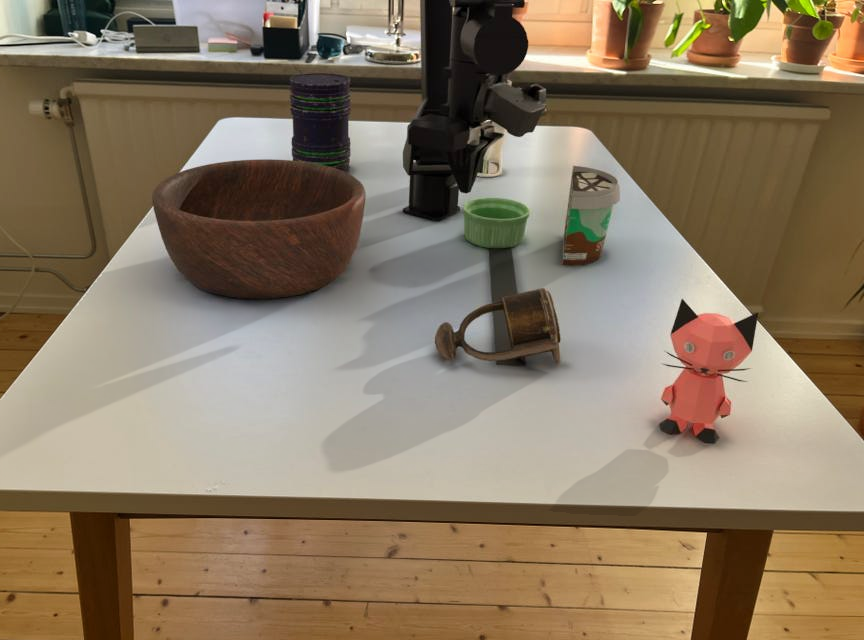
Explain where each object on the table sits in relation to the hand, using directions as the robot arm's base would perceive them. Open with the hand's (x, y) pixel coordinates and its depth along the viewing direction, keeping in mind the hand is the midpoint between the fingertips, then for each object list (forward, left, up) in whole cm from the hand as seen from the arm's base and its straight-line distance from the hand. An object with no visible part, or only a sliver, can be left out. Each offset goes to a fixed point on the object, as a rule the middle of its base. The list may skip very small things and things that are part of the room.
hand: (465, 192), depth 101 cm
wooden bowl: (-18, -17, -9) cm, 27 cm away
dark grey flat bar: (+8, -4, -9) cm, 13 cm away
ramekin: (0, +9, -9) cm, 13 cm away
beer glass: (-17, +37, -9) cm, 41 cm away
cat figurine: (+36, -20, -9) cm, 42 cm away
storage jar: (-39, +20, -9) cm, 45 cm away
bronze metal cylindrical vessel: (+16, -19, -9) cm, 26 cm away
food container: (+12, +13, -9) cm, 20 cm away
